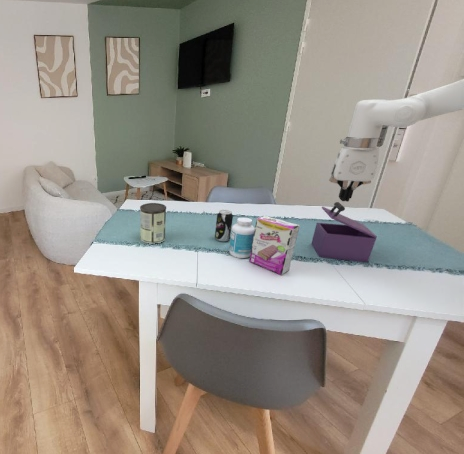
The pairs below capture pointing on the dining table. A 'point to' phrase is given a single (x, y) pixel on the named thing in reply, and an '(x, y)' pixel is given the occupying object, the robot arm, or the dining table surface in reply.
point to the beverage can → (223, 225)
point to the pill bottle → (242, 238)
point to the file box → (342, 242)
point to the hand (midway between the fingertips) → (343, 200)
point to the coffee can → (152, 222)
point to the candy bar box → (273, 244)
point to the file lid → (347, 219)
